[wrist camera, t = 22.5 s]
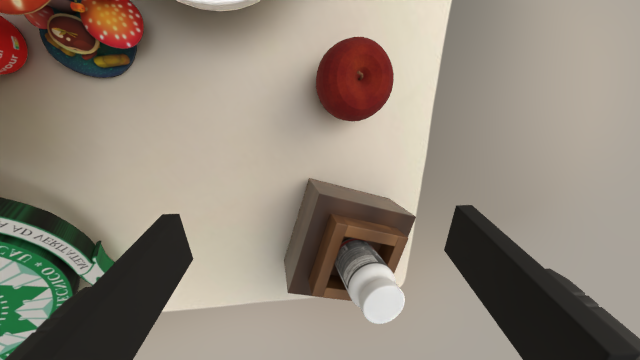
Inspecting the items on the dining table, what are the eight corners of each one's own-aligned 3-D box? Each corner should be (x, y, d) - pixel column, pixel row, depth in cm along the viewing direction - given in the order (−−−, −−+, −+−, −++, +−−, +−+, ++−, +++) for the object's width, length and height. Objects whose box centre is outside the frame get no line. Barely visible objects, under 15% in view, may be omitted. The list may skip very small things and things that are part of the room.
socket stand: (283, 260, 41) (289, 309, 31) (309, 178, 39) (324, 201, 28) (361, 272, 45) (390, 319, 35) (389, 198, 43) (429, 225, 32)
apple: (377, 63, 36) (416, 45, 27) (360, 126, 38) (391, 130, 29) (317, 42, 34) (337, 14, 24) (302, 111, 36) (314, 110, 26)
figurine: (19, 55, 27) (-76, 27, 19) (28, -35, 26) (-70, -106, 18) (144, 92, 31) (108, 81, 23) (157, 15, 30) (124, -25, 22)
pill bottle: (374, 263, 36) (413, 316, 26) (338, 277, 35) (365, 337, 25) (366, 229, 34) (404, 273, 24) (328, 244, 33) (352, 295, 24)
